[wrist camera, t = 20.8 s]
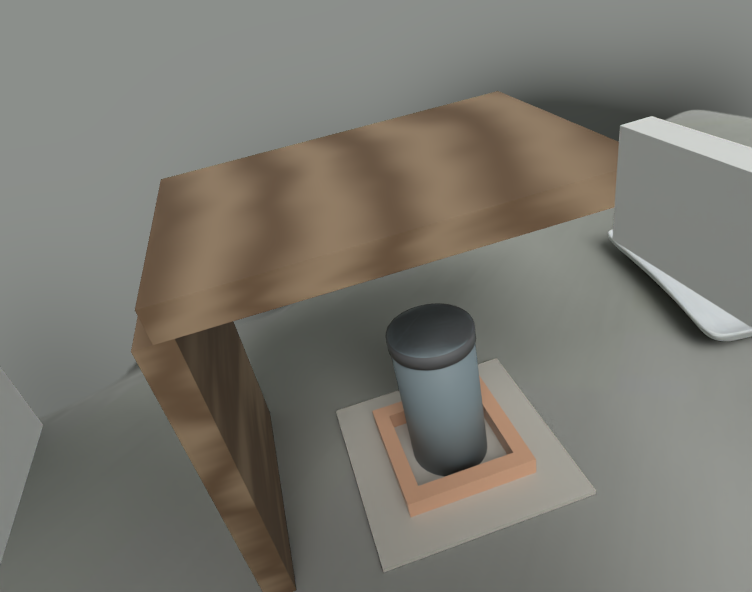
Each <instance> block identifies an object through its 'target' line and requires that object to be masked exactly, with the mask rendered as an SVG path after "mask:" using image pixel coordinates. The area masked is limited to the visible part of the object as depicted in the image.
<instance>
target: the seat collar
mask: <svg viewBox="0 0 752 592" xmlns="http://www.w3.org/2000/svg"><path fill="white" fill-rule="evenodd" d="M478 371H479V379H480V387H481V396H482V404H483V412H484V421H485V429H486V437H487V452H486V455H485V457H484V459H483V461H482V462H481V463H480V464H479V465H477V466H474V467H471V468H468V469H465V470H462V471H460V472H457V473H454V474H451V475H448V476H439V475H435V474H432V473H430V472H428V471H426V470H425V469H424V468H422V467H421V466H420V465H419V464H418V462H417V461H416V459H415V456H414V452H413V448H412V444H411V439H410V435H409V431H408V426H407V422H406V418H405V413H404V409H403V405H402V400H401V396H400V392H399V390H398V391H395V392H392V393H389V394H386V395H383V396H379V397H376V398H373V399H370V400H367V401H364V402H361V403H358V404H355V405H352V406H349V407H346V408H343V409H340V410H337V411H336V414H337V417H338V420H339V424H340V427H341V431H342V434H343V437H344V441H345V444H346V447H347V451H348V454H349V457H350V461H351V464H352V467H353V471H354V474H355V478H356V481H357V484H358V488H359V491H360V494H361V498H362V501H363V504H364V508H365V511H366V514H367V518H368V521H369V525H370V528H371V531H372V535H373V538H374V541H375V545H376V548H377V551H378V555H379V558H380V561H381V565H382V568H383V571H384V572H387V571H390V570H392V569H395V568H398V567H400V566H403V565H406V564H409V563H411V562H414V561H417V560H419V559H422V558H425V557H427V556H430V555H433V554H436V553H438V552H441V551H444V550H446V549H449V548H452V547H454V546H457V545H460V544H463V543H465V542H468V541H471V540H473V539H476V538H479V537H481V536H484V535H487V534H490V533H492V532H495V531H498V530H500V529H503V528H506V527H508V526H511V525H514V524H517V523H519V522H522V521H525V520H527V519H530V518H533V517H535V516H538V515H541V514H544V513H546V512H549V511H552V510H554V509H557V508H560V507H562V506H565V505H568V504H571V503H573V502H576V501H579V500H581V499H584V498H587V497H589V496H592V495H595V494H596V490H595V488H594V487H593V486H592V484H591V483H590V482H589V480H588V479H587V478H586V476H585V475H584V474H583V472H582V471H581V470H580V468H579V467H578V466H577V464H576V463H575V462H574V460H573V459H572V458H571V456H570V455H569V454H568V452H567V451H566V450H565V448H564V447H563V446H562V444H561V443H560V442H559V440H558V439H557V438H556V436H555V435H554V434H553V432H552V431H551V430H550V428H549V427H548V426H547V424H546V423H545V422H544V420H543V419H542V418H541V416H540V415H539V414H538V412H537V411H536V410H535V408H534V407H533V406H532V404H531V403H530V402H529V400H528V399H527V398H526V396H525V395H524V394H523V392H522V391H521V390H520V388H519V387H518V386H517V384H516V383H515V382H514V380H513V379H512V378H511V376H510V375H509V374H508V372H507V371H506V370H505V368H504V367H503V366H502V364H501V363H500V362H499V360H498V359H497V358H495V359H492V360H489V361H486V362H483V363H480V364H478Z"/></svg>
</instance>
